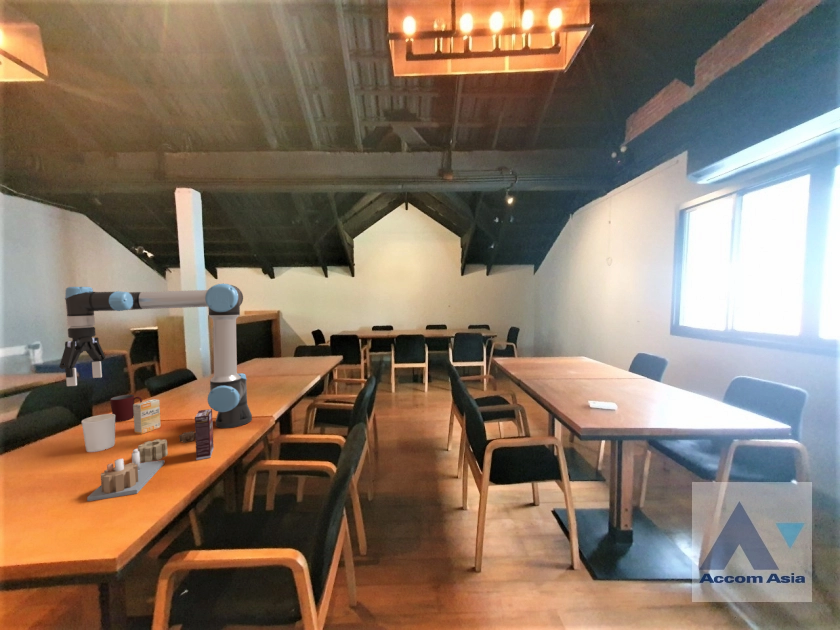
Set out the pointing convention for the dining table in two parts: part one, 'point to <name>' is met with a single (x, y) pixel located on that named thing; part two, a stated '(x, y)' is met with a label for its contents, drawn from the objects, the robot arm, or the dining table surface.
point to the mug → (123, 407)
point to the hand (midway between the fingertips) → (85, 381)
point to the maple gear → (153, 450)
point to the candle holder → (99, 432)
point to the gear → (187, 436)
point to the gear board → (136, 488)
